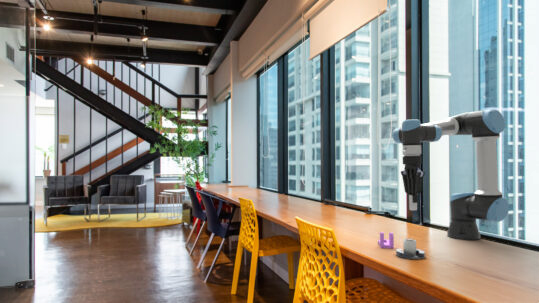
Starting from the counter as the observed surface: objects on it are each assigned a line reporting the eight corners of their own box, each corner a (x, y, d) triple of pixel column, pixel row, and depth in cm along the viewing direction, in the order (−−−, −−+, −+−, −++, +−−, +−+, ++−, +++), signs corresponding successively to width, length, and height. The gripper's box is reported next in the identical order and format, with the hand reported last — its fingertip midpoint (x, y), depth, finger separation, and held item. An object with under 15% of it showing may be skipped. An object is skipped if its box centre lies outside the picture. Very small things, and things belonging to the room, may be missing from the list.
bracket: (393, 248, 160) (393, 233, 161) (381, 248, 162) (380, 232, 162) (389, 242, 173) (389, 228, 173) (377, 241, 174) (377, 227, 174)
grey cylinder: (411, 252, 151) (410, 238, 151) (418, 255, 146) (418, 240, 146) (401, 253, 150) (400, 238, 150) (408, 256, 145) (408, 241, 145)
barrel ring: (413, 251, 155) (413, 247, 155) (430, 258, 144) (430, 253, 144) (390, 253, 152) (390, 248, 152) (406, 260, 141) (406, 255, 141)
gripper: (395, 155, 157) (396, 208, 157) (414, 155, 144) (415, 212, 144) (409, 155, 159) (410, 207, 159) (429, 155, 146) (431, 211, 146)
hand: (413, 210), depth 151 cm, fingers closed
